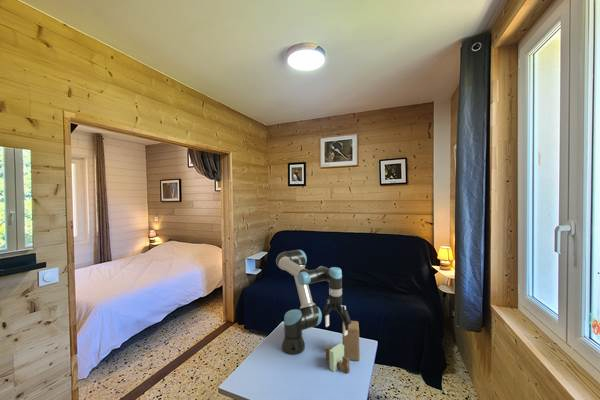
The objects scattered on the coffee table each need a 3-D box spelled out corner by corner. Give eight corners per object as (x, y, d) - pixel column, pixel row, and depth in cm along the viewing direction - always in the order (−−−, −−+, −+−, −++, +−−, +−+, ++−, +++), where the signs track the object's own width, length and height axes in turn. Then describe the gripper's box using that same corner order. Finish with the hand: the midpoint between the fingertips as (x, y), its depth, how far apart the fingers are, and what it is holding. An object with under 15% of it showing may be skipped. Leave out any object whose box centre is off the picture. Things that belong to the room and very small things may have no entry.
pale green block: (333, 371, 141) (333, 352, 141) (329, 369, 143) (329, 350, 143) (344, 363, 148) (344, 345, 148) (340, 361, 150) (340, 343, 150)
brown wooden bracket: (325, 360, 151) (325, 347, 151) (328, 359, 152) (327, 346, 152) (347, 374, 139) (347, 359, 139) (349, 372, 140) (349, 358, 140)
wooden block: (359, 361, 149) (359, 328, 149) (342, 359, 151) (342, 327, 151) (359, 351, 159) (358, 320, 159) (343, 350, 161) (342, 319, 161)
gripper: (315, 290, 152) (316, 324, 153) (349, 302, 134) (349, 341, 134) (323, 287, 157) (324, 320, 158) (357, 298, 139) (357, 336, 139)
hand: (336, 330), depth 146 cm, fingers open, 13 cm apart
